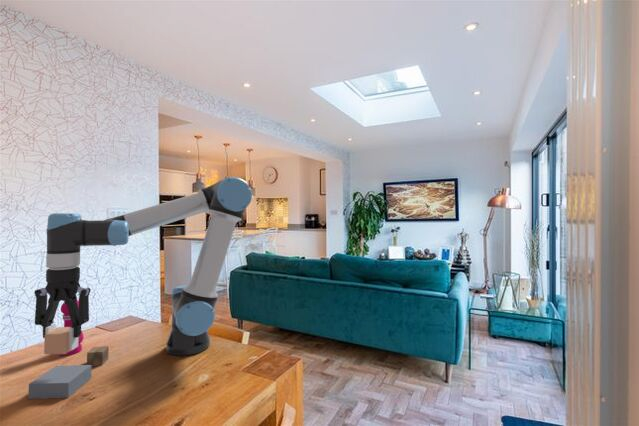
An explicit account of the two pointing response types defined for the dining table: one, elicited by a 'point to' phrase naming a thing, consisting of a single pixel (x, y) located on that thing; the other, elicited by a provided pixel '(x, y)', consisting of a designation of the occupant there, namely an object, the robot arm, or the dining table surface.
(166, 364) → the dining table surface
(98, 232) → the robot arm
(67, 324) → the pepper mill
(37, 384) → the pedestal
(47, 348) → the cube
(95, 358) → the walnut block
